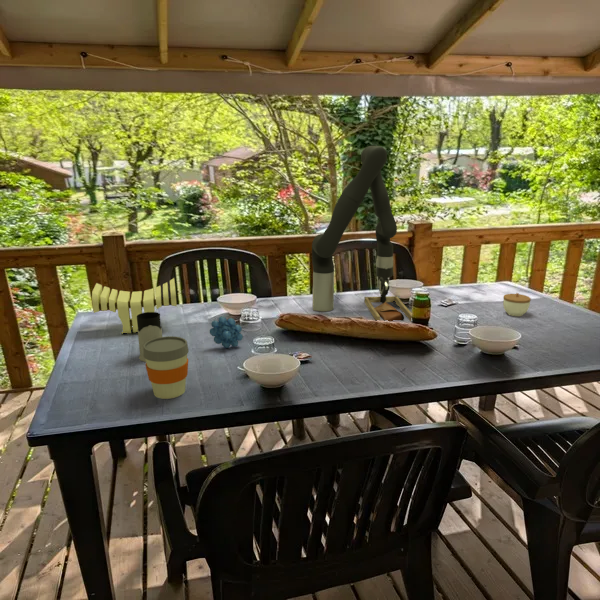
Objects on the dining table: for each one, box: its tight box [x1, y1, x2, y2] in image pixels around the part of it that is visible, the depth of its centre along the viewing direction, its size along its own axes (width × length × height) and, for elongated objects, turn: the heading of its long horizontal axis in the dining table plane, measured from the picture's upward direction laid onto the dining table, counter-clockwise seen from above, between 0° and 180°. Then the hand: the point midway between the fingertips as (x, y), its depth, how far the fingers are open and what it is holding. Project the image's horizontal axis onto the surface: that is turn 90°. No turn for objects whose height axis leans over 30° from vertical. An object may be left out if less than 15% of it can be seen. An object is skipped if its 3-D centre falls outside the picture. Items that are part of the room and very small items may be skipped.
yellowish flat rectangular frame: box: [363, 295, 413, 322], centre depth 217 cm, size 15×29×2 cm, turn 3°
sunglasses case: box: [374, 302, 405, 322], centre depth 212 cm, size 18×7×7 cm
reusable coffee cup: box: [143, 335, 190, 400], centre depth 142 cm, size 13×13×15 cm
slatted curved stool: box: [91, 277, 178, 335], centre depth 194 cm, size 30×16×18 cm, turn 105°
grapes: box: [209, 316, 244, 349], centre depth 174 cm, size 12×7×12 cm, turn 100°
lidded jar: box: [502, 292, 532, 317], centre depth 211 cm, size 11×11×9 cm
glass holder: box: [137, 311, 163, 363], centre depth 169 cm, size 9×14×15 cm, turn 22°
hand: (382, 302), depth 226 cm, fingers closed
